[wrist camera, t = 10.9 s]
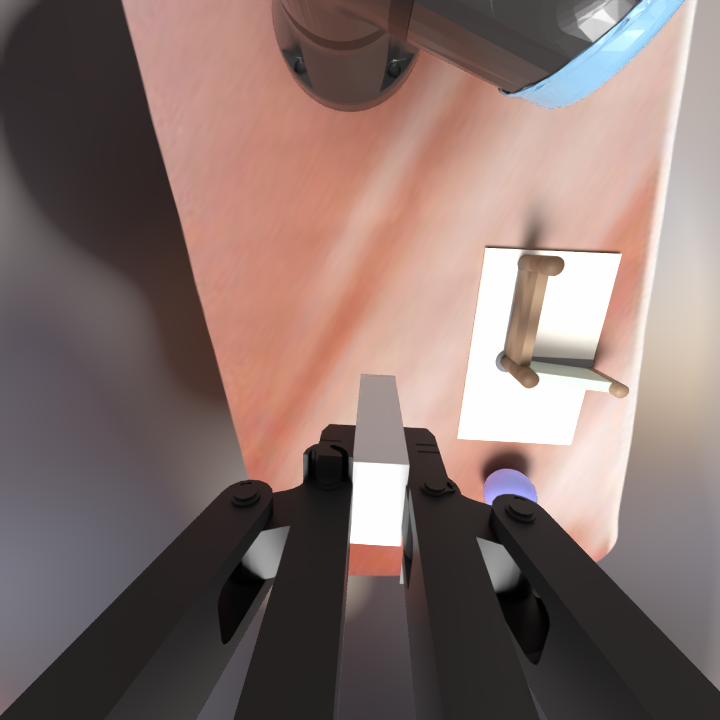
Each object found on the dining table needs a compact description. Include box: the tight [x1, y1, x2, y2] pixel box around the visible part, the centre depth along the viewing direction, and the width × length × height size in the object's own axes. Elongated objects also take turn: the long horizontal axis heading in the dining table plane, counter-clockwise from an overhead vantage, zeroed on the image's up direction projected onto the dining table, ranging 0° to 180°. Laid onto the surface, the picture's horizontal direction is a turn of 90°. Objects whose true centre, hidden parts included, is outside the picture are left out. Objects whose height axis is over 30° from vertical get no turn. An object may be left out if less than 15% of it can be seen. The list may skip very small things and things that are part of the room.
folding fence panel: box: [527, 361, 629, 398], centre depth 43 cm, size 10×2×6 cm, turn 82°
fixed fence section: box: [500, 254, 565, 389], centre depth 41 cm, size 14×2×7 cm, turn 178°
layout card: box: [457, 248, 622, 445], centre depth 46 cm, size 26×16×1 cm, turn 178°
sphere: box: [483, 469, 537, 505], centre depth 49 cm, size 7×7×7 cm
